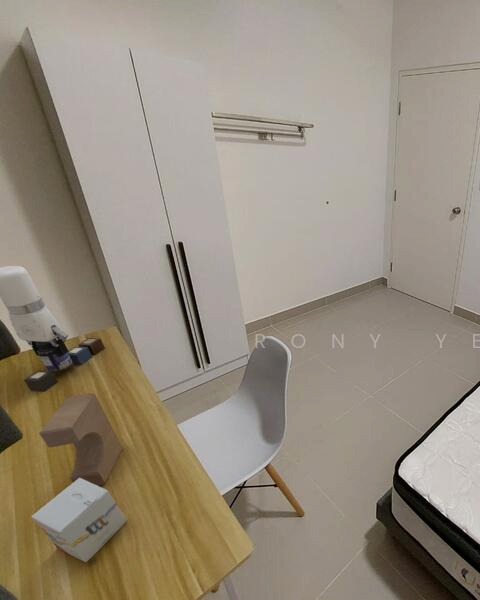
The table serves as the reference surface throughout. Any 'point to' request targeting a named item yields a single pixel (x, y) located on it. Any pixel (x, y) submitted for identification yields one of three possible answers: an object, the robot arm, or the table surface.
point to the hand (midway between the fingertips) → (53, 353)
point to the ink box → (80, 519)
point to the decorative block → (85, 437)
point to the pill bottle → (53, 357)
